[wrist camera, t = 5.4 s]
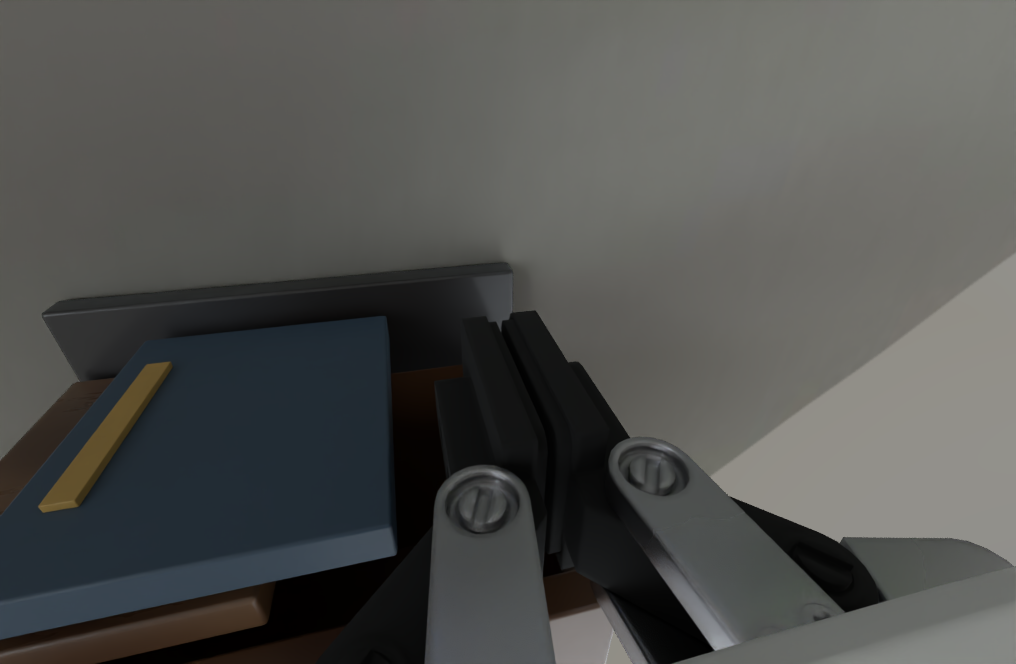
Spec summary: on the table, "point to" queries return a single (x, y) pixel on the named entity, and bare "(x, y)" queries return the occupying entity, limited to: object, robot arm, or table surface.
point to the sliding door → (209, 476)
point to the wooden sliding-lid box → (417, 462)
